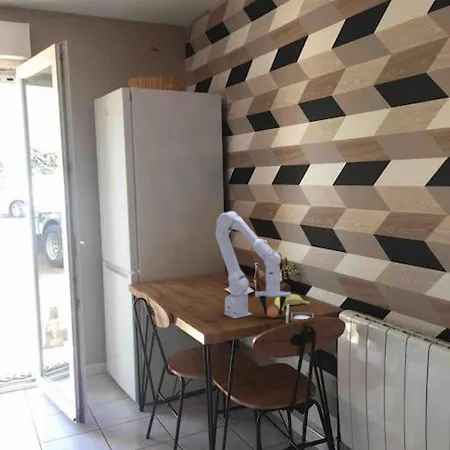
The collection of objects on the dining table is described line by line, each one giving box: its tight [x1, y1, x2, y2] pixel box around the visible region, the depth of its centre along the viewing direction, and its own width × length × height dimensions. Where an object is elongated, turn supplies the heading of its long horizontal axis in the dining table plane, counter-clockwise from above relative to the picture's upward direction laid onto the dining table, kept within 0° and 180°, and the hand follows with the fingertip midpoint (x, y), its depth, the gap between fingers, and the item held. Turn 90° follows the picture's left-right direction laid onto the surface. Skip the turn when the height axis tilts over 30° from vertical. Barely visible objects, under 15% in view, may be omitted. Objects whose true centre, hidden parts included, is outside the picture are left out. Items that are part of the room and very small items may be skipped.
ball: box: [266, 303, 280, 319], centre depth 203 cm, size 6×6×6 cm
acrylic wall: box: [285, 304, 290, 325], centre depth 202 cm, size 16×1×4 cm, turn 171°
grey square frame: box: [290, 311, 315, 322], centre depth 202 cm, size 9×9×1 cm
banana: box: [273, 293, 311, 314], centre depth 218 cm, size 14×6×20 cm
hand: (272, 314), depth 203 cm, fingers closed on ball, 5 cm apart
